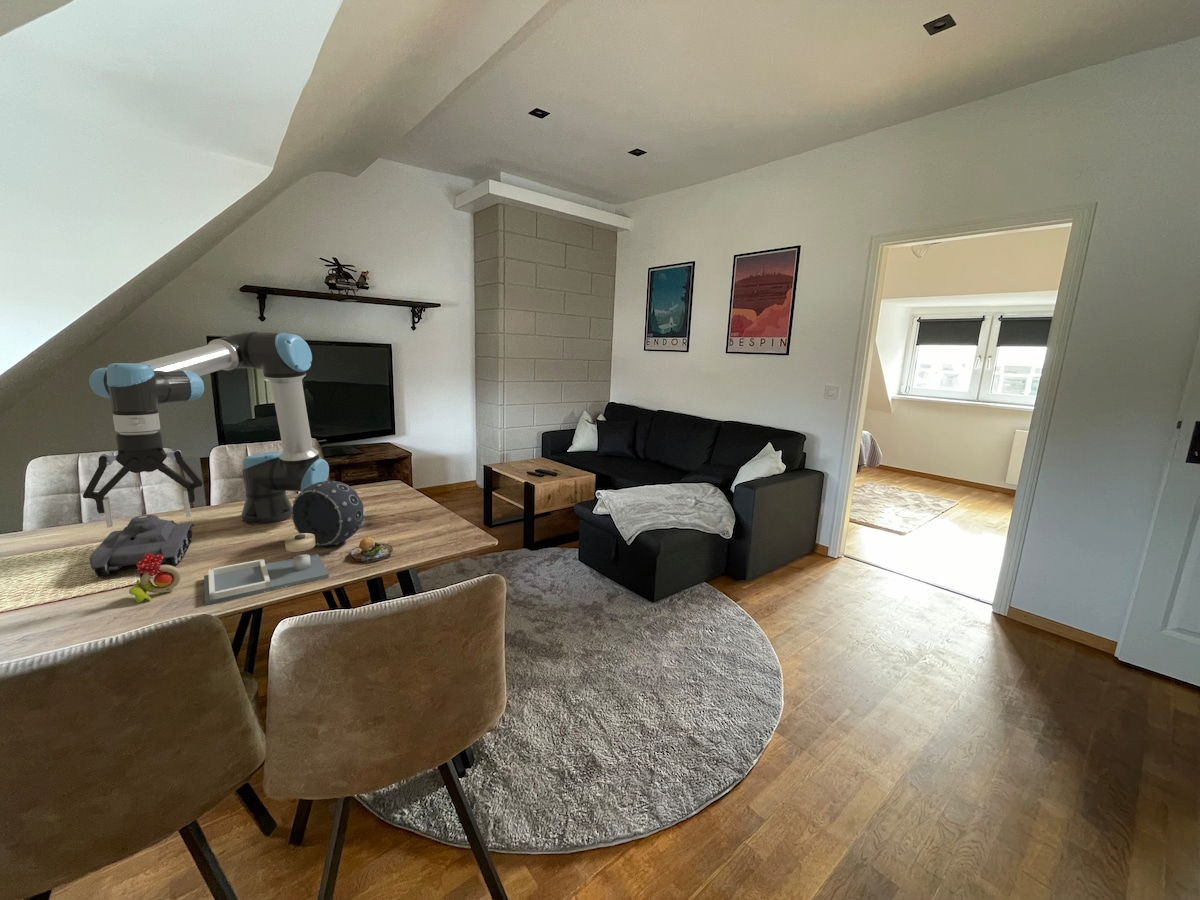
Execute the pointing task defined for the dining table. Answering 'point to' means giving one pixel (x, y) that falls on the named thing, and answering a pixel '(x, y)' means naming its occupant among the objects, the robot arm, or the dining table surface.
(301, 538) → the wheel
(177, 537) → the toy tank
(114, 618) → the dining table surface
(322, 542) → the dotted grey bowl
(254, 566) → the board
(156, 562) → the bird rattle
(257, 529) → the dining table surface
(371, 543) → the burger
